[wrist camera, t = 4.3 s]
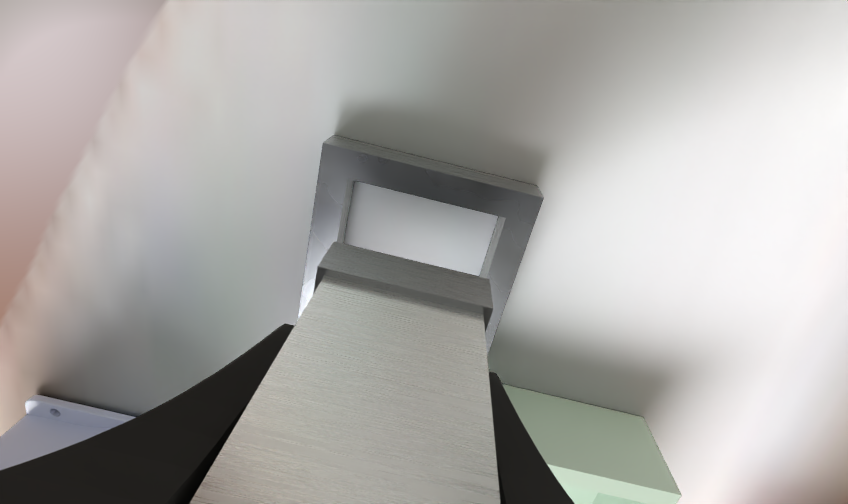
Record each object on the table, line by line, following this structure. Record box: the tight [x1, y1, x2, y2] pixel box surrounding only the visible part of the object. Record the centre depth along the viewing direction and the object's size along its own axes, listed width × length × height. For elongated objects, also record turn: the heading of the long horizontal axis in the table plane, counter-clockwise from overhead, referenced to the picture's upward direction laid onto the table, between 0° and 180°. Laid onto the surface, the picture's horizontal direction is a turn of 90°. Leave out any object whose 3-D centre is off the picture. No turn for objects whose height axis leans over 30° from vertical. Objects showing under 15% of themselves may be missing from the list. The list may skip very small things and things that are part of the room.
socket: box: [298, 135, 543, 355], centre depth 18 cm, size 8×8×2 cm
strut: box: [190, 242, 500, 504], centre depth 10 cm, size 4×4×8 cm
